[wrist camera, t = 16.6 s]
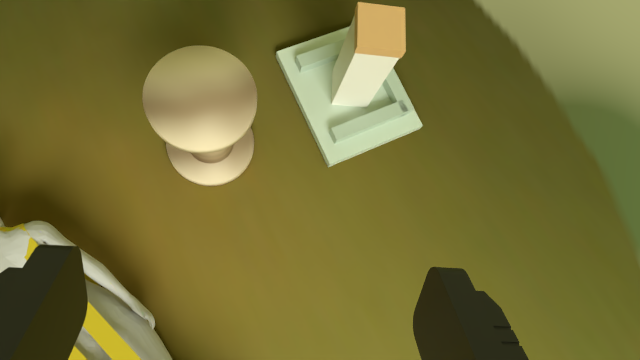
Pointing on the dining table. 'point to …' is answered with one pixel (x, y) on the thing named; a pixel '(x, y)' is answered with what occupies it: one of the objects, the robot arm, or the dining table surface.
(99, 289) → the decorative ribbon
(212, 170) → the bobbin
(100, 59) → the dining table surface
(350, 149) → the ridged board
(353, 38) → the block
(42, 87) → the dining table surface
